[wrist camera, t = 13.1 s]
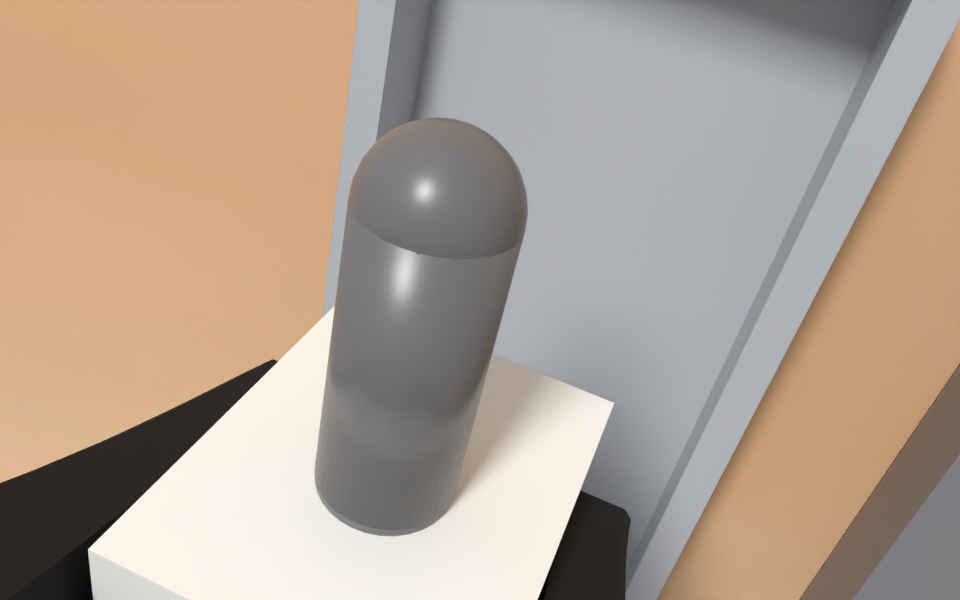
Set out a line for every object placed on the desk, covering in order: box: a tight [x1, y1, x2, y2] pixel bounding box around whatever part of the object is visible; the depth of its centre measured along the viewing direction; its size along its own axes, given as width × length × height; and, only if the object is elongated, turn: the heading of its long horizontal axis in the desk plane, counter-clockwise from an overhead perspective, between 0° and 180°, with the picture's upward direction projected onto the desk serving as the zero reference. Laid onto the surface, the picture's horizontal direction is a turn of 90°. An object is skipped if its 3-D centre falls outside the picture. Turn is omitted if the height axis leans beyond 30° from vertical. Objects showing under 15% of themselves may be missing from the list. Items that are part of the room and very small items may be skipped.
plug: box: [88, 118, 614, 600], centre depth 9 cm, size 7×4×6 cm, turn 167°
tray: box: [322, 0, 960, 600], centre depth 15 cm, size 14×8×2 cm, turn 168°
